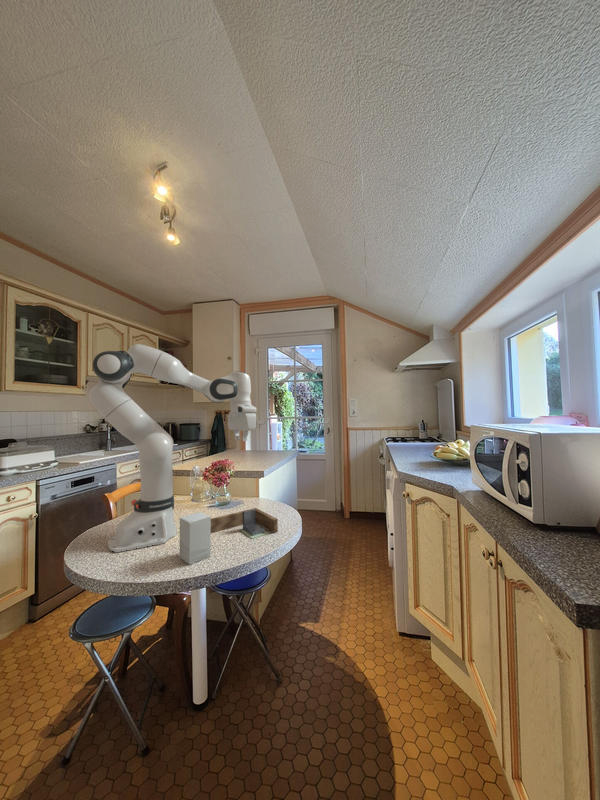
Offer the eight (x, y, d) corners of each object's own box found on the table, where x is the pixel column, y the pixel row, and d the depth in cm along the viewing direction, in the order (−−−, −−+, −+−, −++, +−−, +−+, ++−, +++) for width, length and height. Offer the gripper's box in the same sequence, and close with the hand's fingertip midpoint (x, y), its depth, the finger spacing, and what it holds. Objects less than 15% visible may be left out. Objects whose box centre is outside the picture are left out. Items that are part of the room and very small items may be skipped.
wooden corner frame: (223, 549, 97) (223, 534, 97) (205, 533, 110) (205, 520, 111) (277, 532, 110) (277, 519, 111) (255, 519, 124) (255, 507, 124)
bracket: (264, 532, 110) (264, 513, 110) (252, 536, 107) (252, 516, 107) (253, 526, 116) (253, 508, 116) (242, 529, 113) (242, 511, 113)
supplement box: (211, 556, 92) (211, 516, 93) (188, 565, 87) (189, 522, 88) (200, 549, 97) (200, 511, 98) (178, 557, 92) (178, 517, 93)
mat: (252, 539, 105) (252, 538, 105) (239, 530, 113) (239, 529, 113) (268, 533, 109) (268, 533, 109) (255, 525, 117) (255, 525, 117)
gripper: (224, 409, 132) (224, 439, 132) (244, 408, 116) (245, 442, 116) (237, 409, 136) (237, 438, 136) (258, 408, 120) (258, 441, 119)
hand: (240, 440), depth 125 cm, fingers open, 5 cm apart
